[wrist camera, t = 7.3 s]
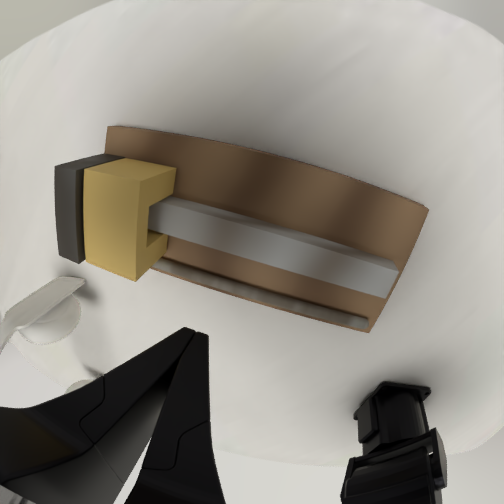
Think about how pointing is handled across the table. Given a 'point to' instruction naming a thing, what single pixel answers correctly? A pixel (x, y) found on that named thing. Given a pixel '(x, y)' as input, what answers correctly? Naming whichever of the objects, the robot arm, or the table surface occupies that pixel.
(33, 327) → the headset
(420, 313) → the table surface
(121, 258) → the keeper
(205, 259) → the rail board
